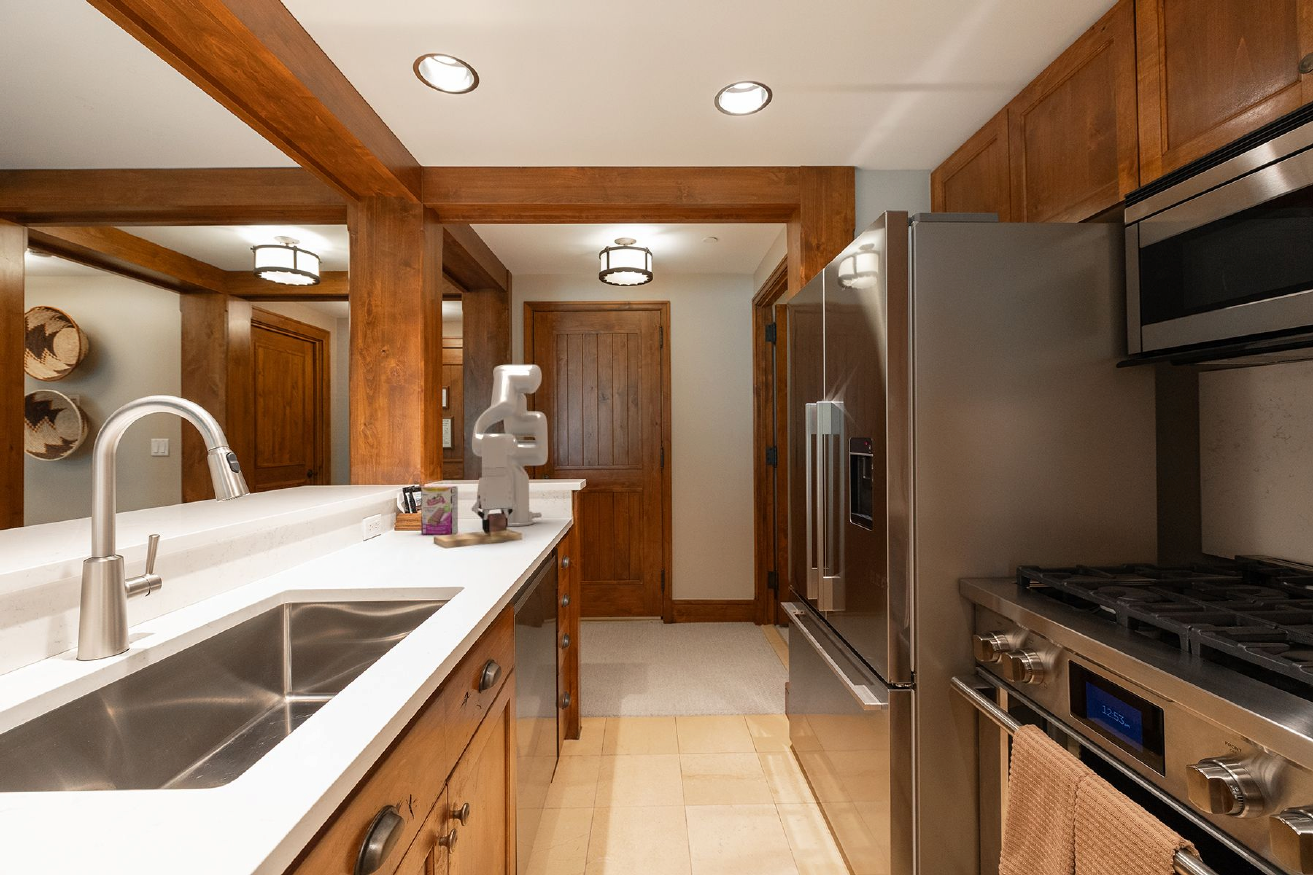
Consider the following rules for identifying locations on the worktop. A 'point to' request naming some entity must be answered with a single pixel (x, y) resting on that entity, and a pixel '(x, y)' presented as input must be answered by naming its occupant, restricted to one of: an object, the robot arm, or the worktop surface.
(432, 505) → the candy bar box
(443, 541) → the pine board
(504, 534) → the brown block
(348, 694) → the worktop surface
